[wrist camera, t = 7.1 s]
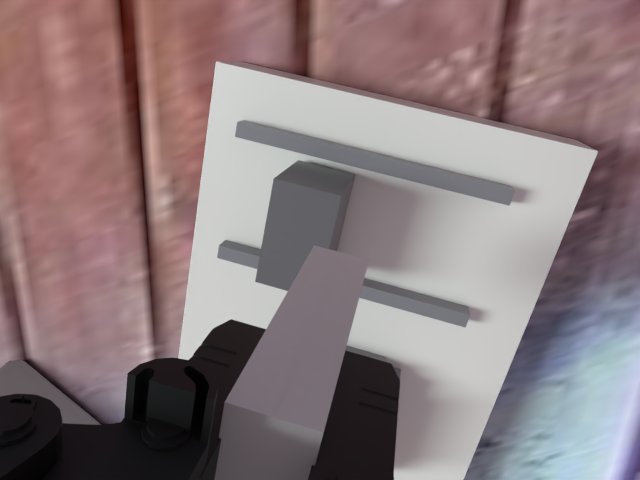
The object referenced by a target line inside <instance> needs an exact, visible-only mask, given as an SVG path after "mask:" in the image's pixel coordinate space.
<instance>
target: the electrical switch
mask: <svg viewBox="0 0 640 480" xmlns="http://www.w3.org/2000/svg"><path fill="white" fill-rule="evenodd" d="M11 394H35V395H38V396H41V397H44V398H47V399H50V400H51V401H52V402H53V403H54V404H55V405H56V406H57V407H58V408H60V411H61V416H62V423H68V424H91V425H101V424H100V423H99V422H98V421H96V420H95V419H94V418H93V417H92V416H90V415H89V414H88V413H87V412H85V411H84V410H83V409H82V408H81V407H79V406H78V405H77V404H76V403H75V402H73V401H72V400H71V399H70V398H68V397H67V396H66V395H65V394H64V393H62V392H61V391H60V390H59V389H58V388H56V387H55V386H54V385H53V384H52V383H50V382H49V381H48V380H47V379H45V378H44V377H43V376H42V375H41V374H39V373H38V372H37V371H36V370H35V369H33V368H32V367H31V366H30V365H28V364H27V363H26V362H25V361H22V360H15V361H9V362H7V363H6V364H5V365H3V366H2V367H1V368H0V396H6V395H11Z"/></svg>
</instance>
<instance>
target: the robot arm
mask: <svg viewBox="0 0 640 480" xmlns="http://www.w3.org/2000/svg"><path fill="white" fill-rule="evenodd" d="M368 263H369V260H367V259H363V258H360V257H356V256H352V255H348V254H345V253H341V252H337V251H333V250H330V249H326V248H322V247H319V246H315V245H314V246H313V248H312V250H311V252H310V253H309V255H308V257H307V259H306V260H305V262H304V264H303V266H302V267H301V269H300V271H299V273H298V274H297V276H296V278H295V280H294V281H293V283H292V285H291V287H290V288H289V290H288V292H287V294H286V295H285V297H284V299H283V301H282V302H281V304H280V306H279V308H278V309H277V311H276V313H275V315H274V317H273V318H272V320H271V322H270V324H269V325H268V327H267V329H263V328H260V327H256V326H253V325H250V324H246V323H243V322H239V321H236V320H232V319H231V320H229V321H227V322H225V323H223V324H221V325H219V326H217V327H215V328H213V329H212V330H211V332H210V333H209V334H208V336H207V337H206V338H205V340H204V341H203V342H202V345H201V346H199V347H198V349H197V350H196V351H195V353H194V354H193V357H192V358H190V359H189V360H185V359H178V358H163V359H155V360H152V361H149V362H146V363H143V364H140V365H139V366H137V367H136V368H134V369H133V370H132V371H130V372H129V373H128V377H127V390H126V404H125V417H124V419H123V421H122V422H120V423H115V424H103V425H91V424H68V423H62V416H61V411H60V408H58V407H57V406H56V405H55V404H54V403H53V402H52V401H51V400H50V399H47V398H44V397H41V396H38V395H35V394H11V395H6V396H0V480H394V461H395V447H396V433H397V419H398V417H397V415H398V405H399V402H398V400H399V391H400V380H399V378H398V376H397V374H396V372H395V370H394V368H393V366H392V364H391V363H388V362H384V361H381V360H377V359H374V358H370V357H367V356H363V355H360V354H356V353H353V352H349V351H346V346H347V342H348V338H349V335H350V331H351V327H352V323H353V319H354V316H355V312H356V308H357V304H358V301H359V297H360V293H361V289H362V285H363V282H364V278H365V274H366V270H367V266H368Z"/></svg>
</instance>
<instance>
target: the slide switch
mask: <svg viewBox="0 0 640 480" xmlns="http://www.w3.org/2000/svg"><path fill="white" fill-rule="evenodd" d="M354 178H355V174H351V173H347V172H343V171H339V170H336V169H332V168H328V167H324V166H320V165H316V164H312V163H308V162H304V161H300V160H298V161H296V162H295V163H294V164H292V165H291V166H290V167H288V168H287V169H286V170H284V171H283V172H282V173H280V174H279V175H278V176H276V177H275V178H274V179H273V185H272V191H271V196H270V202H269V207H268V213H267V218H266V224H265V229H264V235H263V241H262V246H261V252H260V257H259V263H258V268H257V274H256V279H255V282H257V283H261V284H265V285H268V286H272V287H275V288H279V289H282V290H286V291H288V290H289V288H290V287H291V285H292V283H293V281H294V280H295V278H296V276H297V274H298V273H299V271H300V269H301V267H302V266H303V264H304V262H305V260H306V259H307V257H308V255H309V253H310V252H311V250H312V248H313V246H314V245H315V246H319V247H322V248H326V249H330V250H333V251H337V249H338V245H339V241H340V236H341V232H342V228H343V224H344V220H345V216H346V211H347V207H348V203H349V199H350V195H351V191H352V186H353V182H354Z"/></svg>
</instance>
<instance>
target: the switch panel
mask: <svg viewBox="0 0 640 480" xmlns="http://www.w3.org/2000/svg"><path fill="white" fill-rule="evenodd" d="M597 153H598V151H597V150H595V149H593V148H591V147H589V146H587V145H585V144H583V143H581V142H579V141H577V140H574V139H570V138H566V137H561V136H557V135H553V134H549V133H544V132H540V131H536V130H532V129H527V128H523V127H519V126H514V125H510V124H506V123H502V122H497V121H493V120H489V119H484V118H480V117H476V116H472V115H467V114H463V113H459V112H454V111H450V110H446V109H442V108H437V107H433V106H429V105H424V104H420V103H416V102H412V101H407V100H403V99H399V98H395V97H390V96H386V95H382V94H377V93H373V92H369V91H365V90H360V89H356V88H352V87H347V86H343V85H339V84H335V83H330V82H326V81H322V80H317V79H313V78H309V77H305V76H300V75H296V74H292V73H287V72H283V71H279V70H275V69H270V68H266V67H262V66H258V65H253V64H249V63H245V62H221V61H216V66H215V73H214V81H213V89H212V97H211V105H210V113H209V121H208V129H207V137H206V144H205V152H204V160H203V168H202V176H201V184H200V192H199V200H198V207H197V215H196V223H195V231H194V239H193V247H192V255H191V263H190V270H189V278H188V286H187V294H186V302H185V310H184V318H183V326H182V334H181V341H180V349H179V357H178V359H185V360H189V359H190V358H192V357H193V354H194V353H195V351H196V350H197V349H198V347H199V346H201V345H202V342H203V341H204V340H205V338H206V337H207V336H208V334H209V333H210V332H211V330H212V329H213V328H215V327H217V326H219V325H221V324H223V323H225V322H227V321H229V320H231V319H232V320H236V321H239V322H243V323H246V324H250V325H253V326H256V327H260V328H263V329H267V327H268V325H269V324H270V322H271V320H272V318H273V317H274V315H275V313H276V311H277V309H278V308H279V306H280V304H281V302H282V301H283V299H284V297H285V295H286V294H287V292H288V291H286V290H282V289H279V288H275V287H272V286H268V285H265V284H261V283H257V282H255V279H256V274H257V268H258V263H259V257H260V252H261V246H262V241H263V235H264V229H265V224H266V218H267V213H268V207H269V202H270V196H271V191H272V185H273V179H274V178H275V177H276V176H278V175H279V174H280V173H282V172H283V171H284V170H286V169H287V168H288V167H290V166H291V165H292V164H294V163H295V162H296V161H298V160H300V161H304V162H308V163H312V164H316V165H320V166H324V167H328V168H332V169H336V170H339V171H343V172H347V173H351V174H355V178H354V182H353V186H352V191H351V195H350V199H349V203H348V207H347V211H346V216H345V220H344V224H343V228H342V232H341V236H340V241H339V245H338V249H337V252H341V253H345V254H348V255H352V256H356V257H360V258H363V259H367V260H369V263H368V266H367V270H366V274H365V278H364V282H363V285H362V289H361V293H360V297H359V301H358V304H357V308H356V312H355V316H354V319H353V323H352V327H351V331H350V335H349V338H348V342H347V346H346V351H349V352H353V353H356V354H360V355H363V356H367V357H370V358H374V359H377V360H381V361H384V362H388V363H391V364H392V366H393V368H394V370H395V372H396V374H397V376H398V378H399V380H400V391H399V400H398V402H399V405H398V415H397V417H398V419H397V433H396V447H395V461H394V480H463V479H464V477H465V475H466V472H467V470H468V467H469V465H470V462H471V460H472V458H473V455H474V453H475V450H476V448H477V445H478V443H479V440H480V438H481V436H482V433H483V431H484V428H485V426H486V423H487V421H488V419H489V416H490V414H491V411H492V409H493V406H494V404H495V402H496V399H497V397H498V394H499V392H500V389H501V387H502V384H503V382H504V380H505V377H506V375H507V372H508V370H509V367H510V365H511V363H512V360H513V358H514V355H515V353H516V350H517V348H518V345H519V343H520V341H521V338H522V336H523V333H524V331H525V328H526V326H527V324H528V321H529V319H530V316H531V314H532V311H533V309H534V306H535V304H536V302H537V299H538V297H539V294H540V292H541V289H542V287H543V285H544V282H545V280H546V277H547V275H548V272H549V270H550V268H551V265H552V263H553V260H554V258H555V255H556V253H557V250H558V248H559V246H560V243H561V241H562V238H563V236H564V233H565V231H566V229H567V226H568V224H569V221H570V219H571V216H572V214H573V211H574V209H575V207H576V204H577V202H578V199H579V197H580V194H581V192H582V190H583V187H584V185H585V182H586V180H587V177H588V175H589V172H590V170H591V168H592V165H593V163H594V160H595V158H596V155H597Z"/></svg>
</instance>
